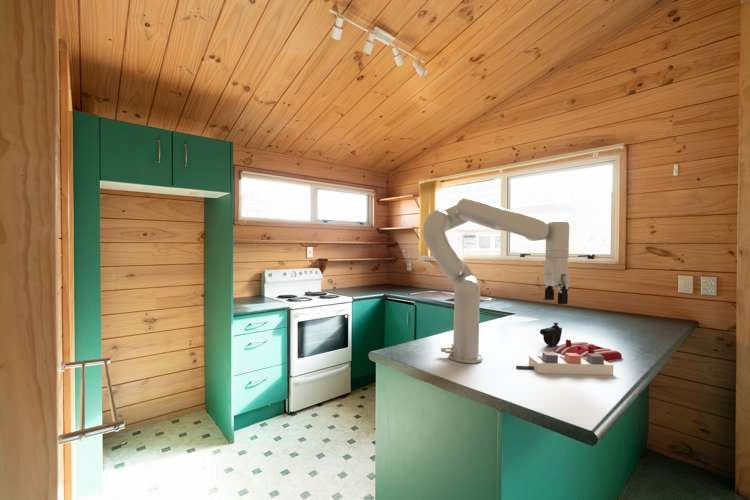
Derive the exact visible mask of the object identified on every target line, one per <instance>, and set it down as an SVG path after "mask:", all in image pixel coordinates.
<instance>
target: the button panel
mask: <svg viewBox="0 0 750 500" xmlns="http://www.w3.org/2000/svg"><path fill="white" fill-rule="evenodd" d="M515 369H517V370H518V369H519V370H521V369H522V370H534V371H535V372H536V373H537V374H562V375H563V374H565V375H566V374H567V375H595V376H596V375H597V376H599V375H601V376H614V364H612V363H610V362H608V361H605V360H604V365H603V364H591V363H589V362H587V357H581V364H569V363H567V362H566V361H565V356H564V355H560V356H559V355H558V363H545V362H544V361H542V355H528V365H515Z"/></svg>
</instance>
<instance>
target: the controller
mask: <svg viewBox="0 0 750 500" xmlns="http://www.w3.org/2000/svg"><path fill="white" fill-rule="evenodd" d="M552 323H553V325H552V326H550V327H545V328H541V329H540V331H539V334H540V335H541V336H543V342H544V343H545V345H547V346H549V347H556V346H557V345H559V342H560V341H561V337H562V334H563V333H562V332H563V327H560V326H559V323H558V322H552Z"/></svg>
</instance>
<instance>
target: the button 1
mask: <svg viewBox="0 0 750 500" xmlns="http://www.w3.org/2000/svg"><path fill="white" fill-rule="evenodd" d="M541 356H542V361H544V362H545V363H558V357H559V355H558V353H555V352H552V351H551V352H550V351H549V352H545V351H543V352H542V354H541Z"/></svg>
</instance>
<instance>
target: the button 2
mask: <svg viewBox="0 0 750 500" xmlns="http://www.w3.org/2000/svg"><path fill="white" fill-rule="evenodd" d="M565 361H566V362H567V363H569V364H581V356H580V355H578V354H577V353H565Z"/></svg>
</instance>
